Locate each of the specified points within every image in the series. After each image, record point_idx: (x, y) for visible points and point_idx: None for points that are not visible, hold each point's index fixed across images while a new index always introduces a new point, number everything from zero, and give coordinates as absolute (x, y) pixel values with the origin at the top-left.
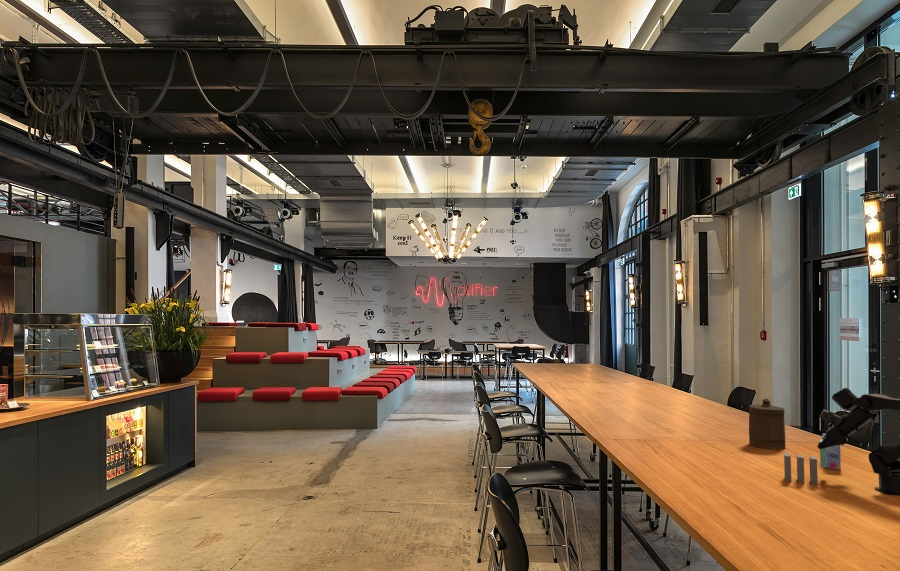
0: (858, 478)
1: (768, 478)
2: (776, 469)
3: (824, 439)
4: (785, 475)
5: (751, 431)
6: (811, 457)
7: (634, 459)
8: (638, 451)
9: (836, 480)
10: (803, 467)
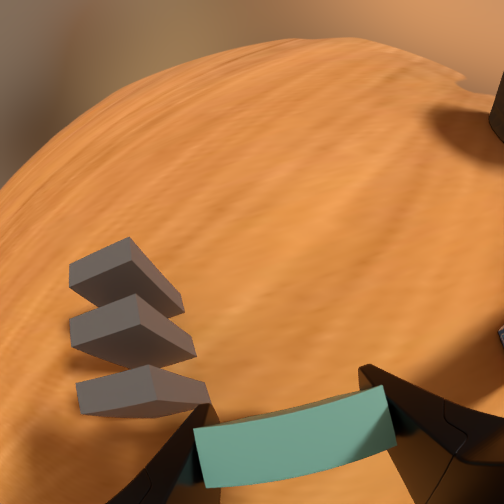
0: None
1: None
2: (297, 228)
3: (130, 487)
4: None
5: (498, 89)
6: (105, 383)
7: (143, 82)
8: (208, 57)
9: None
10: (103, 357)
